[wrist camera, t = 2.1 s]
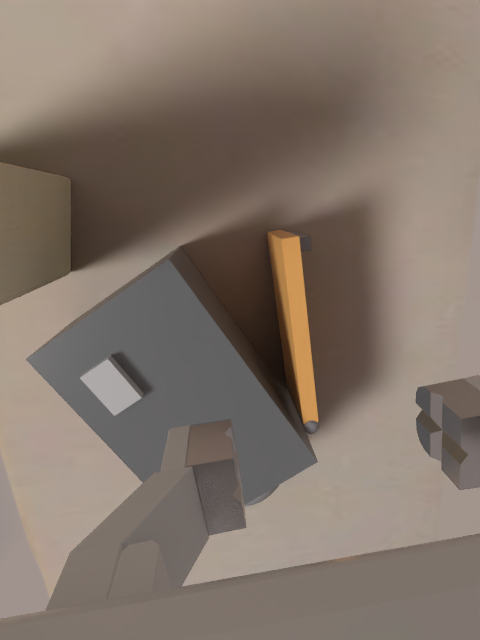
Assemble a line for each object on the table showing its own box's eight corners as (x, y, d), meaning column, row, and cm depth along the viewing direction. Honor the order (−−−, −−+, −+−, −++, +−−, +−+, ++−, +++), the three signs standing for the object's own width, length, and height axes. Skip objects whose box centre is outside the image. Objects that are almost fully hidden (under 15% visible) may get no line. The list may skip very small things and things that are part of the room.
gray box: (304, 419, 31) (331, 483, 24) (207, 478, 32) (205, 556, 25) (180, 245, 26) (167, 260, 19) (71, 322, 28) (20, 363, 20)
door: (309, 387, 30) (331, 430, 24) (287, 391, 30) (304, 434, 24) (291, 227, 26) (313, 233, 20) (266, 231, 26) (281, 239, 20)
